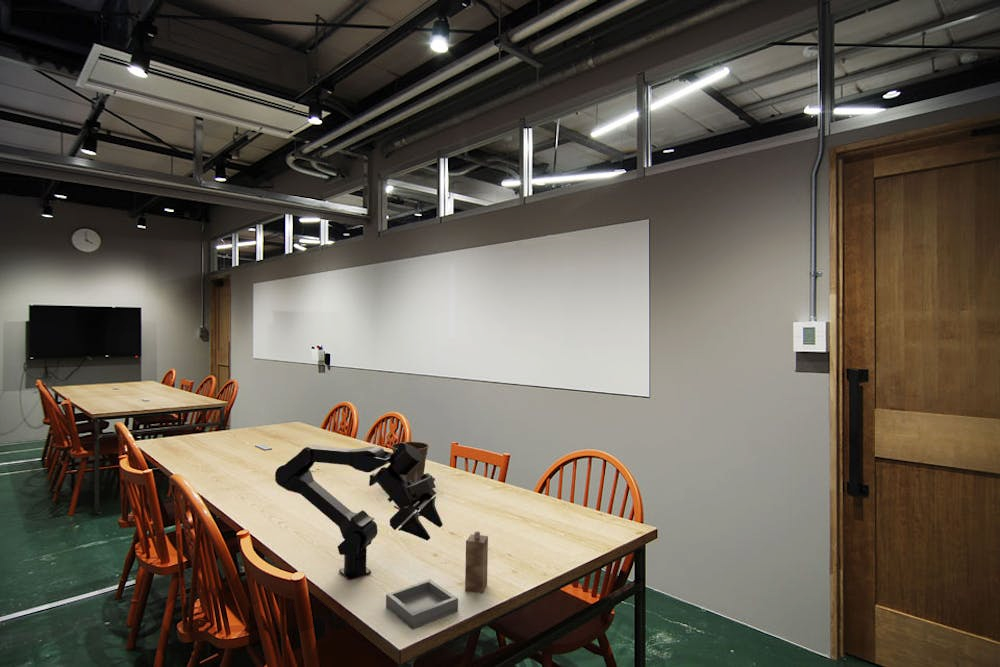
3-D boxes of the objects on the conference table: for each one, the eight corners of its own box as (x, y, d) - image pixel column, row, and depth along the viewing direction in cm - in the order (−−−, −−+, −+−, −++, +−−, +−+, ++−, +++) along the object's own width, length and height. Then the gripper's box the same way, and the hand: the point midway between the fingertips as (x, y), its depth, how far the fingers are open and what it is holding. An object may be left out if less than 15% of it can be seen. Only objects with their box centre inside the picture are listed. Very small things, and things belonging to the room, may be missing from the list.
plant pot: (435, 482, 224) (436, 445, 224) (406, 489, 212) (407, 450, 212) (412, 475, 235) (413, 440, 235) (383, 482, 223) (383, 445, 223)
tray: (385, 607, 119) (386, 594, 119) (429, 591, 126) (429, 579, 126) (412, 629, 109) (412, 615, 110) (457, 611, 117) (458, 598, 117)
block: (465, 591, 127) (466, 534, 127) (470, 583, 131) (471, 528, 131) (482, 593, 126) (483, 536, 126) (487, 585, 130) (488, 530, 130)
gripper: (401, 475, 123) (444, 524, 121) (429, 458, 142) (467, 500, 139) (371, 505, 125) (413, 555, 122) (402, 484, 143) (439, 527, 140)
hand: (435, 532), depth 131 cm, fingers open, 9 cm apart
